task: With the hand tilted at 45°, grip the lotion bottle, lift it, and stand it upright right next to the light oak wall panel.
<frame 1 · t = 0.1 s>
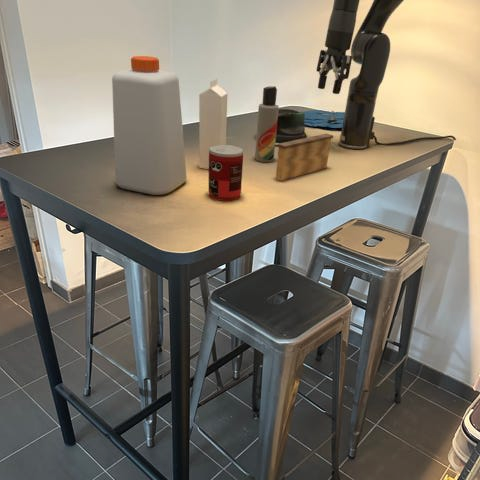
hand: (328, 91, 142), 17 cm above the table, tool pointing down, fingers open, 8 cm apart
chocolate cake: (284, 140, 159), on the table
decorative plate: (326, 122, 185), on the table
plastic bottle: (152, 184, 116), on the table
canned food: (224, 196, 113), on the table
lotion bottle: (264, 160, 138), on the table
wall panel: (302, 173, 130), on the table
milk: (212, 166, 130), on the table
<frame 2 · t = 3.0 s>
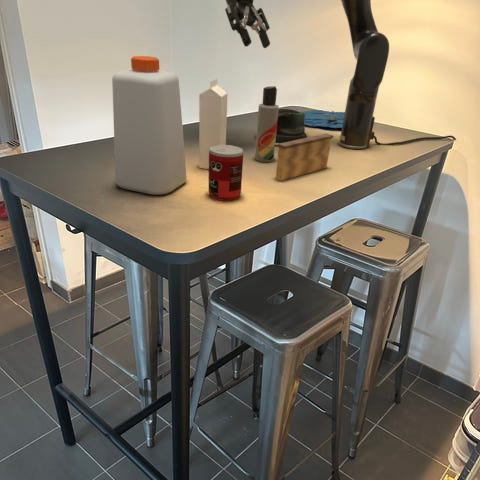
hand: (258, 45, 127), 29 cm above the table, tool tilted 40°, fingers open, 8 cm apart
nothing on the table moved.
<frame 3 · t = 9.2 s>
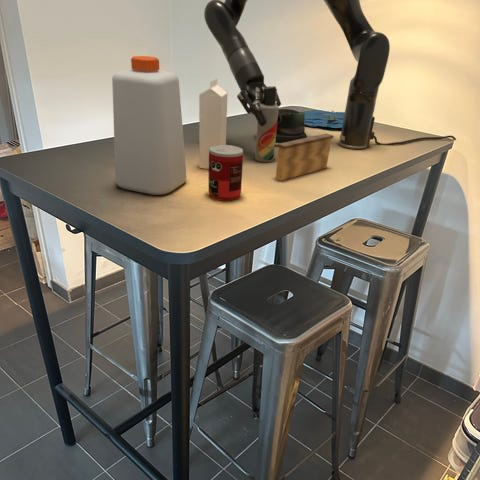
hand: (271, 123, 131), 11 cm above the table, tool tilted 45°, fingers closed on lotion bottle, 5 cm apart
lotion bottle: (264, 160, 138), on the table, touching gripper
everything else where it was.
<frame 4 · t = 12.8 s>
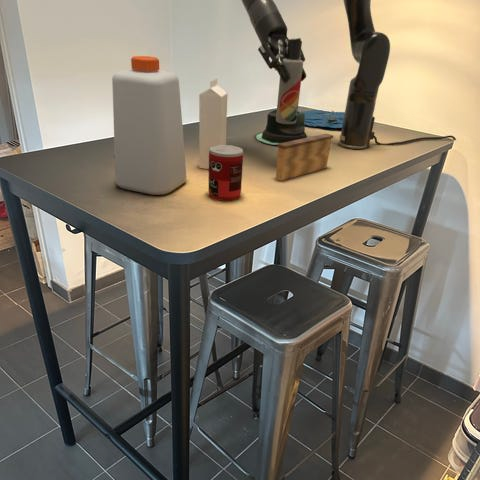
hand: (295, 79, 120), 23 cm above the table, tool tilted 45°, fingers closed on lotion bottle, 5 cm apart
lotion bottle: (285, 122, 127), point 12 cm above the table, touching gripper
everything else where it was.
when the fingers open (11 cm above the table, at t = 16.9 s): lotion bottle stays where it is, on the table.
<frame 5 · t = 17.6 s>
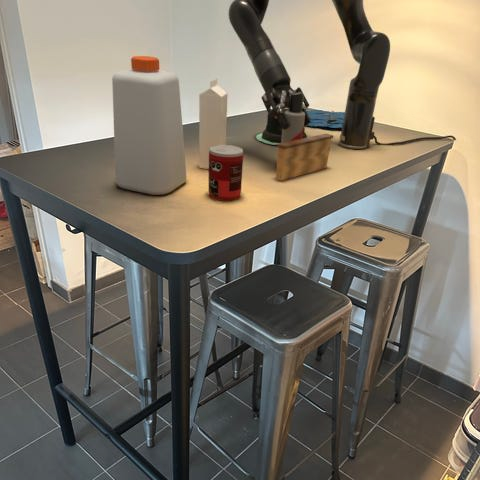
hand: (297, 126, 125), 12 cm above the table, tool tilted 45°, fingers open, 8 cm apart
lotion bottle: (288, 169, 133), on the table
everything else where it was.
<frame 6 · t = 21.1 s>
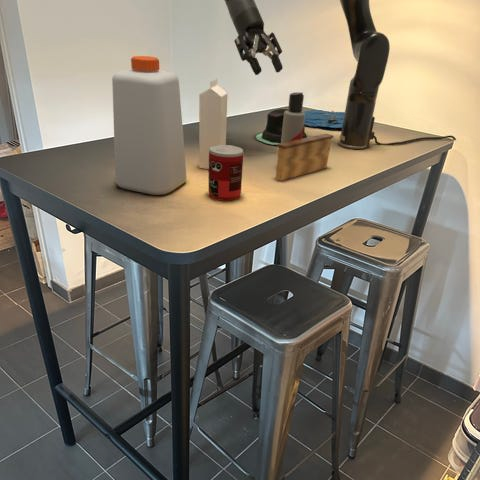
hand: (269, 72, 127), 23 cm above the table, tool tilted 40°, fingers open, 8 cm apart
nothing on the table moved.
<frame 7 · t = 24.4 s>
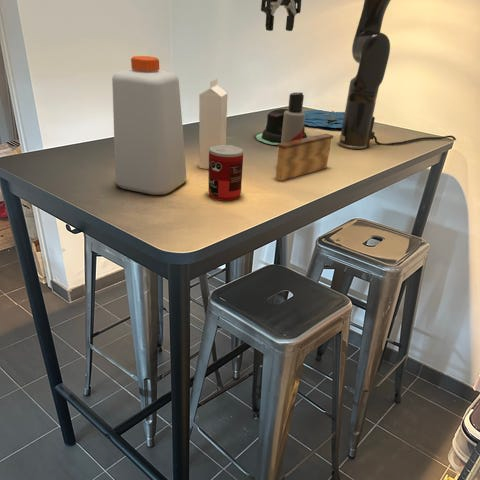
hand: (279, 30, 134), 32 cm above the table, tool pointing down, fingers open, 8 cm apart
nothing on the table moved.
at the end: lotion bottle 5.2 cm from the wall panel (horizontally); lotion bottle tilted 0°; the gripper is holding nothing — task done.
